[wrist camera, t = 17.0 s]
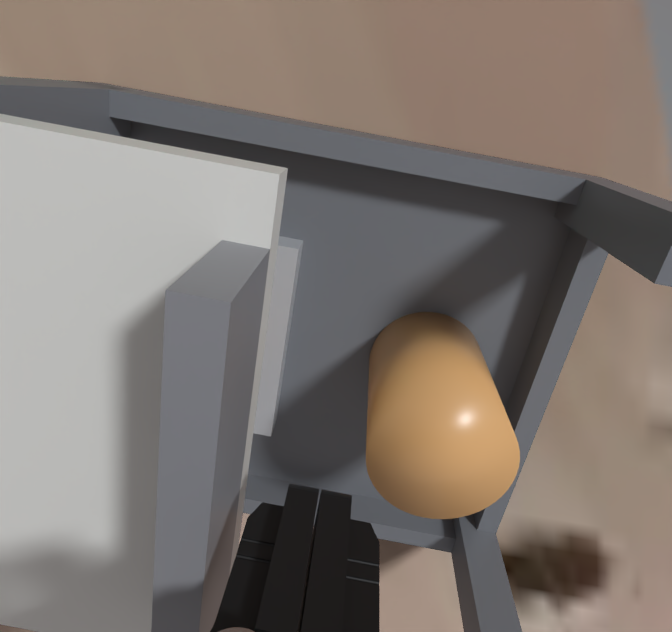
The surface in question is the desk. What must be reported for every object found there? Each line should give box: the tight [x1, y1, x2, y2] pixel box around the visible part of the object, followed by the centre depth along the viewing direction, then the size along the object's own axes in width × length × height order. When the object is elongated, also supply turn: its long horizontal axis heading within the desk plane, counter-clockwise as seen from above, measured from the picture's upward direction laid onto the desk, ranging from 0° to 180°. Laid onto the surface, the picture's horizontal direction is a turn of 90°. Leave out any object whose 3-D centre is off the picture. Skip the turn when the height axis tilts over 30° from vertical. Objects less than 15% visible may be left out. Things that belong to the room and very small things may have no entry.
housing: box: [0, 76, 672, 632], centre depth 18 cm, size 18×16×8 cm
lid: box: [0, 114, 288, 632], centre depth 12 cm, size 7×15×4 cm, turn 170°
